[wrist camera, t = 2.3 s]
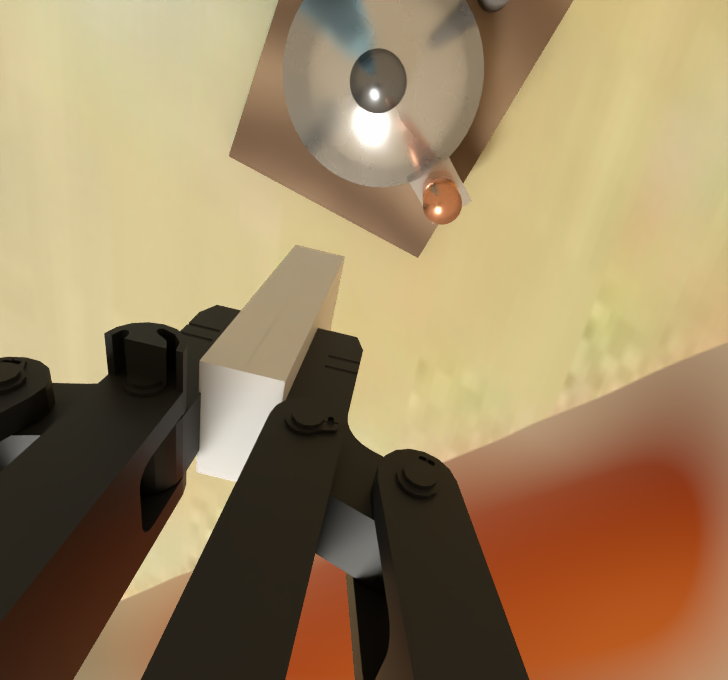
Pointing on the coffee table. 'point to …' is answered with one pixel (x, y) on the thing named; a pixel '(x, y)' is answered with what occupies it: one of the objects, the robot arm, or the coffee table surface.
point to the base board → (400, 203)
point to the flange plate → (428, 96)
